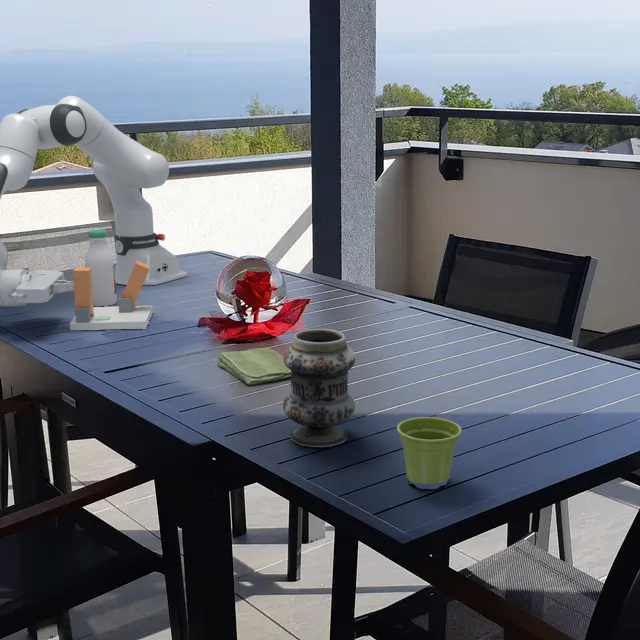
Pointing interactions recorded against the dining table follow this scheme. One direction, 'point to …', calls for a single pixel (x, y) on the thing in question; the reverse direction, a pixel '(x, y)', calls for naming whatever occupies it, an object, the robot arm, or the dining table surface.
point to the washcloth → (255, 365)
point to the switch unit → (112, 317)
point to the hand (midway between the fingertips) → (75, 286)
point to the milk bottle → (101, 269)
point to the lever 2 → (136, 281)
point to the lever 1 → (83, 288)
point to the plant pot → (428, 448)
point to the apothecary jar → (319, 386)
